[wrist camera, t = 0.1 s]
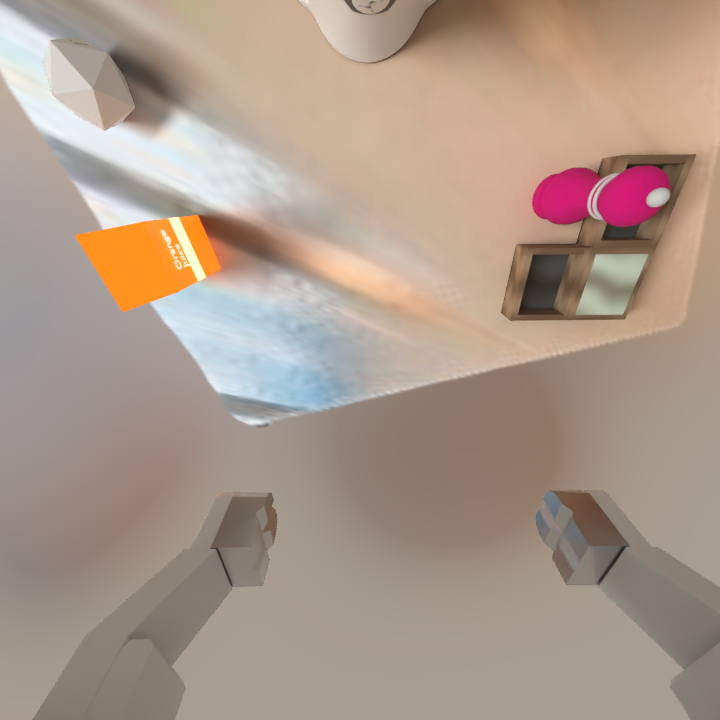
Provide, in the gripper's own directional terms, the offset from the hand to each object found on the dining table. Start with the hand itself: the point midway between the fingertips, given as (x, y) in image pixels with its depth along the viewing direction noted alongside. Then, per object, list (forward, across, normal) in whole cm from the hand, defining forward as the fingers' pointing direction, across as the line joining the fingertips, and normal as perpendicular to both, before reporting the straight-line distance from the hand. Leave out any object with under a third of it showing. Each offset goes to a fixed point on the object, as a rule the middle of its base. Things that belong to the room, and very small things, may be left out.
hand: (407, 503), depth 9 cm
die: (+48, +35, -20) cm, 63 cm away
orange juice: (+48, +30, -1) cm, 57 cm away
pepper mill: (+48, -29, -8) cm, 57 cm away
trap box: (+48, -35, -1) cm, 59 cm away
